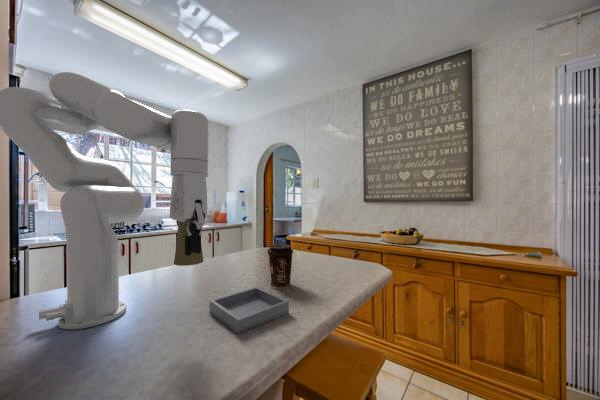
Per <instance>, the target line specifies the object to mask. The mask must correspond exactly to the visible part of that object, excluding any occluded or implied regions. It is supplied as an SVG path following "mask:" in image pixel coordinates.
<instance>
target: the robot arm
mask: <svg viewBox="0 0 600 400" xmlns="http://www.w3.org/2000/svg"><path fill="white" fill-rule="evenodd" d="M49 90H50V93H51V94H52V95H51V94H48V93H45V92H42V91H38V90H35V89H32V88H28V87H23V86H22V87H20V86H10V87H9V86H8V87H5V88H2V89H1V90H0V129H1V130H2V131H3V133H4V134H5V135H6V136H7V137H8V138H9V139H10V140H11V141H12V142H13V143H14V145H16V146H17V148H19V149H20V150H21V151H22V152H23V154H25V156H27V158H28V159H29V161H30V162H31V163H32V165H33V166H34V168H36V169H37V171H38V172H39V173H40V175H41V176H42V177H43V179H44V180H45V181H46V182H47V183H48V184H49V186H51V187H52V188H53V189H55V190H56V191H59V192H62V193H63V195H62V196H61V199H60V204H59V205H60V206H59V207H60V212H61V216H62V220H63V224H64V228H65V235H66V237H65V238H66V278H67V279H66V286H67V287H66V288H67V289H66V291H67V293H66V294H67V296H66V298H67V299H65V301H64V304H60V305H59V306H58V307H53V308H47V309H42V310H39V311H38V320H40V321H41V320H45V319H46V322H49V321H52V320H56V319H58V321H57V326H58V327H59V328H60V329H62V330H80V329H81V330H83V329H87V328H92V327H96V326H99V325H103V324H105V323H108V322H111V321H113V320H115V319H116V320H117V319H118V318H119V317H121V316H122V315H124V313H126V312H127V304H126V303H125V302H123V301H119V300H120V299H119V297H120V295H119V293H120V292H119V291H120V287H119V285H120V283H119V282H120V281H119V279H120V278H119V277H120V276H119V272H120V271H119V267H120V266H119V263H120V262H119V239H118V237H117V236H118V235H117V234H116V232H115V230H114V229H113V228H112V225H110V224H116V223H117V224H118V223H126V222H131V221H134V220H136V219H138V218H139V217H141V215H142V214H143V212H144V210H145V200H144V197H143V196H142V194H141V192H140V190H138V188H137V187H136V186H135V184H133V182H132V181H131V180H130V178H128V176H127V175H125V173H124V172H123V170H121V168H120V167H119V166H117V165H116V164H115V163H113V162H112V161H109V160H106V159H102V158H96V157H92V156H91V157H90V156H85V155H82V154H80V153H78V152H77V150H75V149H74V148H73V146H72V145H71V144H70V142H68V140H66V138H64V137H63V136H62V135H60V134H59V133H57V131H58V132H61V133H66V134H70V135H82V134H86V133H88V132H91V131H93V130H95V129H97V128H99V127H102V128H104V129H105V130H108V131H109V132H111V133H113V134H116V135H118V136H120V137H122V138H125V139H127V140H130V141H133V142H136V143H139V144H144V145H148V146H152V147H155V148H159V149H163V150H168V151H170V176H172V181H171V188H170V189H171V190H170V192H171V193H170V205H169V207H170V208H169V218H170V219H171V220H172V221H176V220H177V221H180V222H186V229H187V236H185V255H191V253H192V252H196V254H200V253H201V246H202V234H203V232H202V230H203V227H204V225H205V223H206V221H205V220H206V219H207V217H208V188H207V178H208V176H209V120H208V118H207V116H206V115H205V114H203V113H202V112H199V111H195V110H190V109H179V110H176V111H174V112H173V113H172V114H171V116H169V115H167V114H165V113H162V112H160V111H158V110H155V109H153V108H151V107H149V106H146V105H144V104H142V103H140V102H137V101H135V100H133V99H130V98H128V97H127V96H124V94H122V93H121V92H119V91H118V90H116V89H113V88H111V87H109V86H106V85H104V84H102V83H100V82H97V81H95V80H93V79H90V78H88V77H87V76H84V75H81V74H79V73H75V72H69V71H67V72H66V71H64V72H58V73H56V74H54V75H52V77H51V78H50V80H49ZM191 218H196V221H190V219H191ZM191 224H193V225H192V227H191ZM176 231H177V233H178V232H179V227H178V226H177V230H176Z"/></svg>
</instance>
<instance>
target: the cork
mask: <svg viewBox="0 0 600 400" xmlns="http://www.w3.org/2000/svg"><path fill="white" fill-rule="evenodd" d="M190 221H196V218H191V219H190ZM175 222H176V226H177V228H178V227H179V232H178V231H177V240H176V246H175V253H174V260H173V265H175V266H179V267H180V266H183V267H184V266H185V267H186V266H194V265H195V266H196V265H199V264H202V263H203V262H204V255H203V246H202V245H201V253H200V254H196V252H192V253H191V255H185V236H187V229H186V222H180V221H177V220H175ZM192 225H193V224H191V227H192Z"/></svg>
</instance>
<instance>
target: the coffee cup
mask: <svg viewBox="0 0 600 400" xmlns="http://www.w3.org/2000/svg"><path fill="white" fill-rule="evenodd" d="M293 253H294V250H293V248H292V247H291V244H285V243H277V244H271V245H269V248H268V249H267V255H268V260H269V271H270V272H269V273H270V287H271V288H272V289H275V290H278V289H279V290H284V289H287V288H289V287H290V286H291V275H292V267H293V264H292V263H293Z"/></svg>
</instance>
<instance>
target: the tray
mask: <svg viewBox="0 0 600 400" xmlns="http://www.w3.org/2000/svg"><path fill="white" fill-rule="evenodd" d="M209 313H210V315H212V316H213V317H215V318H216V319H217V320H218V321H220V322H221V323H222V324H224V326H226V327H228V328H229V329H230V330H231V331H233V332H234V333H235V334H237V335H240V334H241V335H242V334H243V333H245V332H247V331H248V332H249V331H251V330H252V329H255V328H257V327H260V326H263V325H265V324H267V323H269V322H271V321H275V320H276V319H279V318H281V317H283V316H285V315H288V314H290V301H289V300H288V299H285V298H283V297H281V296H278V295H276V294H273V293H271V292H269V291H267V290H265V289H263V288H261V287H258V286H256V287H251V288H248V289H245V290H241V291H238V292H235V293H231V294H227V295H224V296H220V297H218V298H212V299H210V300H209Z"/></svg>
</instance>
